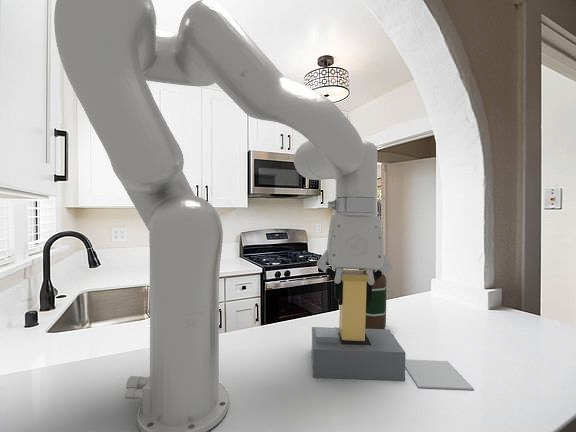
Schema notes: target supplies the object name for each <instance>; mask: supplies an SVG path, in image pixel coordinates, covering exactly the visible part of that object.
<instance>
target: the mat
mask: <svg viewBox="0 0 576 432" xmlns="http://www.w3.org/2000/svg"><path fill="white" fill-rule="evenodd" d="M405 371H407V373H408V375H409V377H411V379H412V381H413V383H414V384H415V385H416V387H417V388H418V389H429V390H431V389H432V390H433V389H434V390H459V391H474V390H475V388H474V387H473V386H472V385H471V384H470V383H469V382H468V381H467V380H466V379H465V378H464V376H463V375H462V374H461V373H459V371H458V370H457V368H455V367H454V366H453V364H451V363H450V362H449V361H448V360H430V359H428V360H426V359H405Z"/></svg>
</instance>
